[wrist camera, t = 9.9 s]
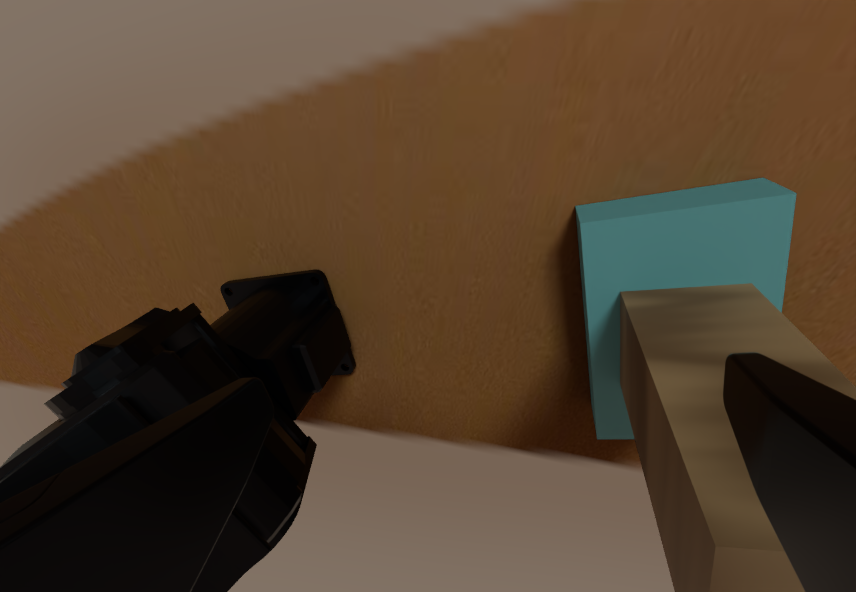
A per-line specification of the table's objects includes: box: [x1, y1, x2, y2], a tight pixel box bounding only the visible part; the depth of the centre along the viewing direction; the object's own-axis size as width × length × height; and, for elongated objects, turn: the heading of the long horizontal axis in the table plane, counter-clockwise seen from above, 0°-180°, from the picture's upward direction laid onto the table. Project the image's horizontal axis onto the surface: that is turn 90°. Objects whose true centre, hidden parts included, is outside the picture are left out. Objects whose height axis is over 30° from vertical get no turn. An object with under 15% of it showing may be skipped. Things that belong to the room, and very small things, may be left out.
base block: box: [575, 178, 796, 439], centre depth 19 cm, size 7×11×2 cm, turn 13°
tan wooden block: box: [620, 283, 856, 592], centre depth 13 cm, size 5×5×11 cm
